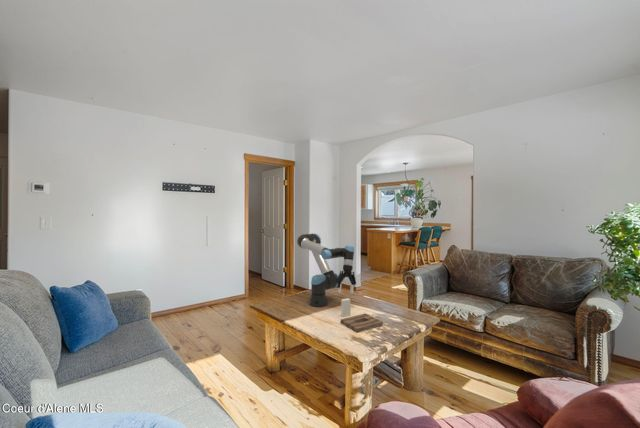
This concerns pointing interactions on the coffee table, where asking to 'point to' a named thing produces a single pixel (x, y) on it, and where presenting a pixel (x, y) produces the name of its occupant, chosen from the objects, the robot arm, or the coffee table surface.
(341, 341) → the coffee table surface
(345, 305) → the tall cream pillar
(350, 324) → the brown slotted base plate
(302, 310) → the coffee table surface
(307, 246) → the robot arm
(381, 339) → the coffee table surface
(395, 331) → the coffee table surface
